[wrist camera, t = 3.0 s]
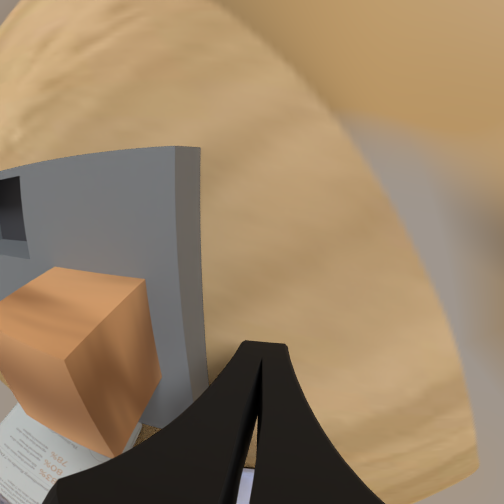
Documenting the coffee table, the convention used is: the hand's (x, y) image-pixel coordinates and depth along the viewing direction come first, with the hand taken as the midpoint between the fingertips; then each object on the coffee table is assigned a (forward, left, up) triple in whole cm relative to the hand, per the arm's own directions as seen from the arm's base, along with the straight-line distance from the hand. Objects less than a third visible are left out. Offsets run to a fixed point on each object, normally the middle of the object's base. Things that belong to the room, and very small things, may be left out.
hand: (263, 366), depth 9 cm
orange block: (0, +6, -1) cm, 6 cm away
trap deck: (0, +13, -3) cm, 14 cm away
